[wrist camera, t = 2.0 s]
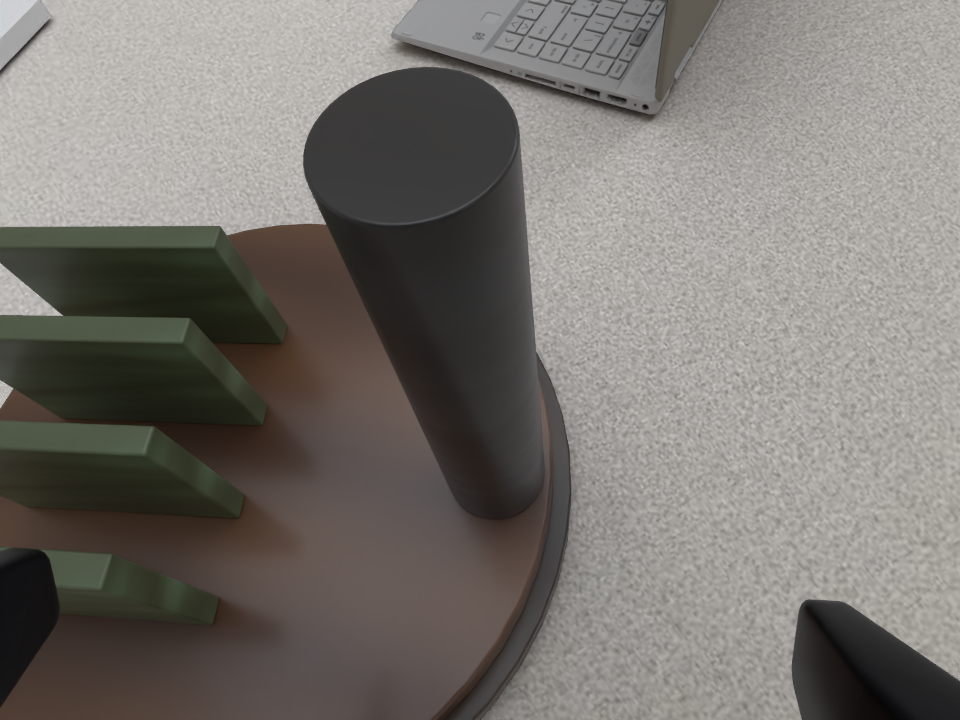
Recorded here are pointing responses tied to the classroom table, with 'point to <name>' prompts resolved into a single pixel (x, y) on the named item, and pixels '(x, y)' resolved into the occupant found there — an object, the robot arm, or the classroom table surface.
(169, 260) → the plate holder
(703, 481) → the classroom table surface
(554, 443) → the rack stand
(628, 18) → the laptop
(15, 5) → the photo frame
